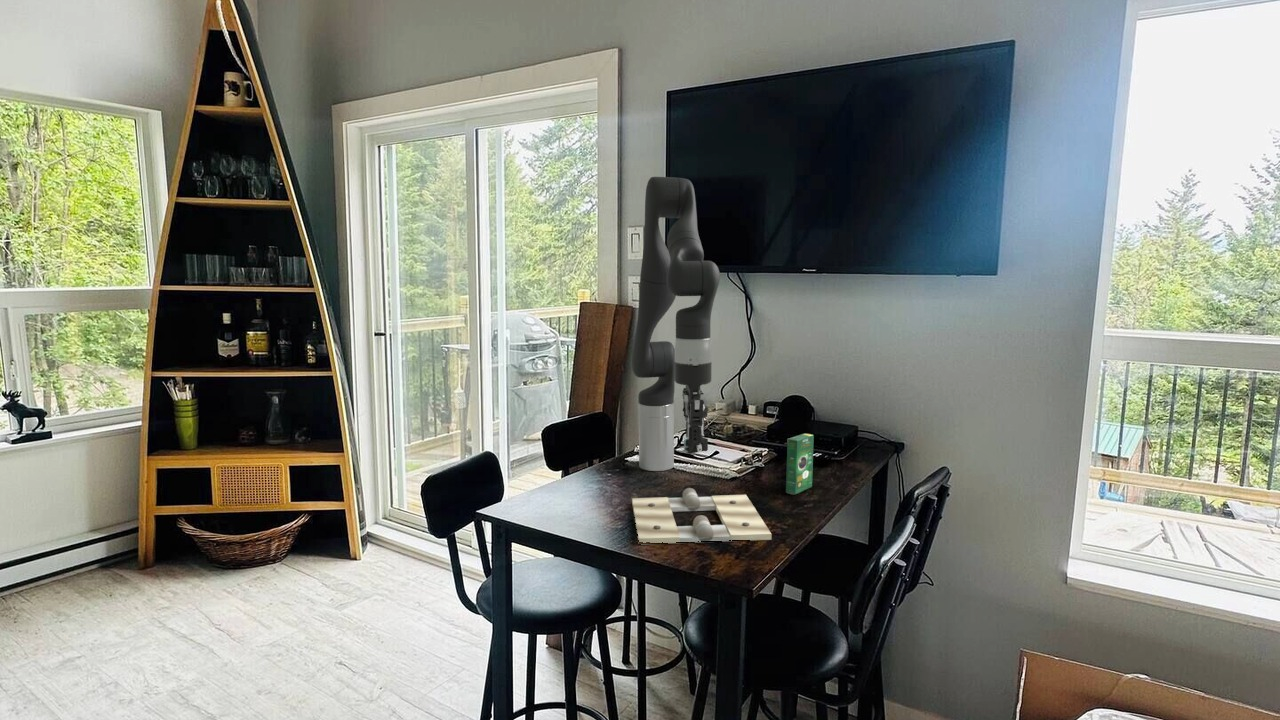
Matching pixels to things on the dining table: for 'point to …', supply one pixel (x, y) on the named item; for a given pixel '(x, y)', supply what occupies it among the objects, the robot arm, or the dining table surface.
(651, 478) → the dining table surface
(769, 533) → the hinge plate
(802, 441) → the coffee box
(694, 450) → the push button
